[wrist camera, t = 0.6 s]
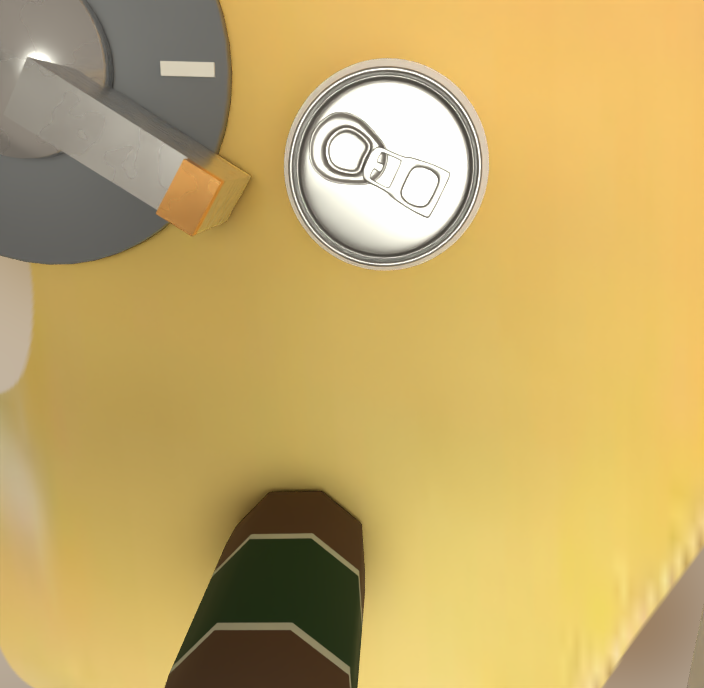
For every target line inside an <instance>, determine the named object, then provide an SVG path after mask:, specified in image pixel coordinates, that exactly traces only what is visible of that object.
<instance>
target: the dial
mask: <svg viewBox="0 0 704 688" xmlns="http://www.w3.org/2000/svg"><path fill="white" fill-rule="evenodd" d="M112 81H113V67H112V59H111V52H110V48H109V44H108V40H107V38H106V35H105V32H104V30H103V27H102V25H101V23H100V21H99V19H98V17H97V16H96V14H95V13H94V11H93V10H92V8H91V6H90V5H89V4H88V3H87V1H86V0H0V155H4V156H8V157H14V158H46V157H52V156H57V155H60V154H63V153H66V154H67V155H69V156H71V157H72V158H74V159H76V160H77V161H79V162H80V163H82V164H84V165H85V166H87V167H88V168H90V169H92V170H93V171H95V172H97V173H98V174H100V175H101V176H103V177H105V178H106V179H108V180H109V181H111V182H113V183H114V184H116V185H118V186H119V187H121V188H122V189H124V190H126V191H127V192H129V193H131V194H132V195H134V196H135V197H137V198H139V199H140V200H142V201H143V202H145V203H147V204H148V205H150V206H152V207H153V208H155V209H156V210H157V212H156V214H157V215H158V216H160V217H161V218H163V219H165V220H166V221H168V222H170V223H171V224H173V225H174V226H176V227H178V228H179V229H181V230H183V231H184V232H186V233H187V234H189V235H191V236H193V235H196V234H198V233H200V232H203V231H205V230H207V229H210V228H212V227H215V226H217V225H219V224H222V223H224V222H226V221H227V220H228V218H229V216H230V214H231V212H232V211H233V209H234V207H235V205H236V203H237V202H238V200H239V198H240V196H241V194H242V193H243V191H244V189H245V187H246V185H247V183H248V182H249V180H250V178H251V176H250V175H249V174H247V173H246V172H244V171H242V170H241V169H239V168H238V167H236V166H235V165H233V164H231V163H230V162H228V161H227V160H225V159H224V158H222V157H220V156H219V155H217V154H216V153H214V152H212V151H211V150H209V149H208V148H206V147H205V146H203V145H201V144H200V143H198V142H197V141H195V140H194V139H192V138H190V137H189V136H187V135H186V134H184V133H183V132H181V131H179V130H178V129H176V128H175V127H173V126H171V125H170V124H168V123H167V122H165V121H164V120H162V119H160V118H159V117H157V116H156V115H154V114H153V113H151V112H149V111H148V110H146V109H145V108H143V107H142V106H140V105H138V104H137V103H135V102H134V101H132V100H130V99H129V98H127V97H126V96H124V95H123V94H121V93H119V92H118V91H116V90H115V89H113V88H112Z"/></svg>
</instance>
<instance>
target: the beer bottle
mask: <svg viewBox="0 0 704 688" xmlns="http://www.w3.org/2000/svg"><path fill="white" fill-rule="evenodd" d="M364 596H365V566H364V551H363V536H362V524H361V523H360V522H359V521H357V520H356V519H355V518H354V517H352V516H351V515H350V514H349V513H348V512H346V511H345V510H344V509H343V508H341V507H340V506H339V505H338V504H337V503H335V502H334V501H333V500H332V499H330V498H329V497H328V496H327V495H326V494H324V493H323V492H322V491H303V492H270V493H268V494H267V495H266V496H265V497H264V498H263V499H262V500H261V501H260V502H259V503H258V504H257V506H256V507H255V508H254V509H253V510H252V511H251V512H250V513H249V514H248V515H247V516H246V517H245V518H244V519H243V520H242V521H241V522H240V523H239V524H238V525H237V526H236V527H235V529H234V531H233V533H232V535H231V537H230V538H229V540H228V542H227V544H226V546H225V548H224V550H223V553H222V555H221V557H220V560H219V562H218V564H217V566H216V569H215V571H214V573H213V575H212V578H211V580H210V582H209V585H208V587H207V589H206V591H205V594H204V596H203V598H202V601H201V603H200V605H199V607H198V610H197V612H196V614H195V617H194V619H193V621H192V623H191V626H190V628H189V630H188V632H187V635H186V637H185V639H184V642H183V644H182V646H181V648H180V651H179V653H178V655H177V658H176V660H175V662H174V664H173V667H172V669H171V671H170V674H169V676H168V679H167V682H166V685H165V688H357V686H358V673H359V660H360V647H361V635H362V622H363V609H364Z"/></svg>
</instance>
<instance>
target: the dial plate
mask: <svg viewBox="0 0 704 688" xmlns="http://www.w3.org/2000/svg"><path fill="white" fill-rule="evenodd" d="M86 1H87V3H88V4H89V5H90V6H91V8H92V10H93V11H94V13H95V14H96V16H97V17H98V19H99V21H100V23H101V25H102V27H103V30H104V32H105V35H106V38H107V40H108V44H109V48H110V52H111V59H112V67H113V81H112V88H113V89H115V90H116V91H118V92H119V93H121V94H123V95H124V96H126V97H127V98H129V99H130V100H132V101H134V102H135V103H137V104H138V105H140V106H142V107H143V108H145V109H146V110H148V111H149V112H151V113H153V114H154V115H156V116H157V117H159V118H160V119H162V120H164V121H165V122H167V123H168V124H170V125H171V126H173V127H175V128H176V129H178V130H179V131H181V132H183V133H184V134H186V135H187V136H189V137H190V138H192V139H194V140H195V141H197V142H198V143H200V144H201V145H203V146H205V147H206V148H208V149H209V150H211V151H212V152H214V153H216V154H217V155H218V153H219V150H220V147H221V144H222V140H223V137H224V134H225V130H226V127H227V121H228V115H229V109H230V103H231V84H232V68H231V55H230V44H229V39H228V34H227V29H226V24H225V19H224V15H223V12H222V9H221V6H220V2H219V0H86ZM156 212H157V210H156V209H155V208H153V207H152V206H150V205H148V204H147V203H145V202H143V201H142V200H140V199H139V198H137V197H135V196H134V195H132V194H131V193H129V192H127V191H126V190H124V189H122V188H121V187H119V186H118V185H116V184H114V183H113V182H111V181H109V180H108V179H106V178H105V177H103V176H101V175H100V174H98V173H97V172H95V171H93V170H92V169H90V168H88V167H87V166H85V165H84V164H82V163H80V162H79V161H77V160H76V159H74V158H72V157H71V156H69V155H67V154H66V153H63V154H60V155H57V156H52V157H46V158H14V157H8V156H4V155H0V255H1V256H4V257H8V258H12V259H16V260H20V261H25V262H32V263H41V264H75V263H81V262H87V261H93V260H97V259H101V258H104V257H107V256H110V255H114V254H117V253H120V252H122V251H125V250H127V249H129V248H131V247H133V246H135V245H138V244H140V243H142V242H144V241H146V240H147V239H149V238H150V237H152V236H153V235H155V234H156V233H158V232H159V231H161V230H162V229H164V228H165V227H166V226H167V225H168V224H169V223H170V222H168V221H166V220H165V219H163V218H161V217H160V216H158V215H157V214H156Z"/></svg>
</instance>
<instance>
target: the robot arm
mask: <svg viewBox="0 0 704 688" xmlns="http://www.w3.org/2000/svg"><path fill="white" fill-rule="evenodd" d="M687 688H704V606H703V611H702V616H701V621H700V626H699V631H698V636H697V640H696V645H695V650H694V655H693V660H692V665H691V669H690V674H689V679H688V685H687Z"/></svg>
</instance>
